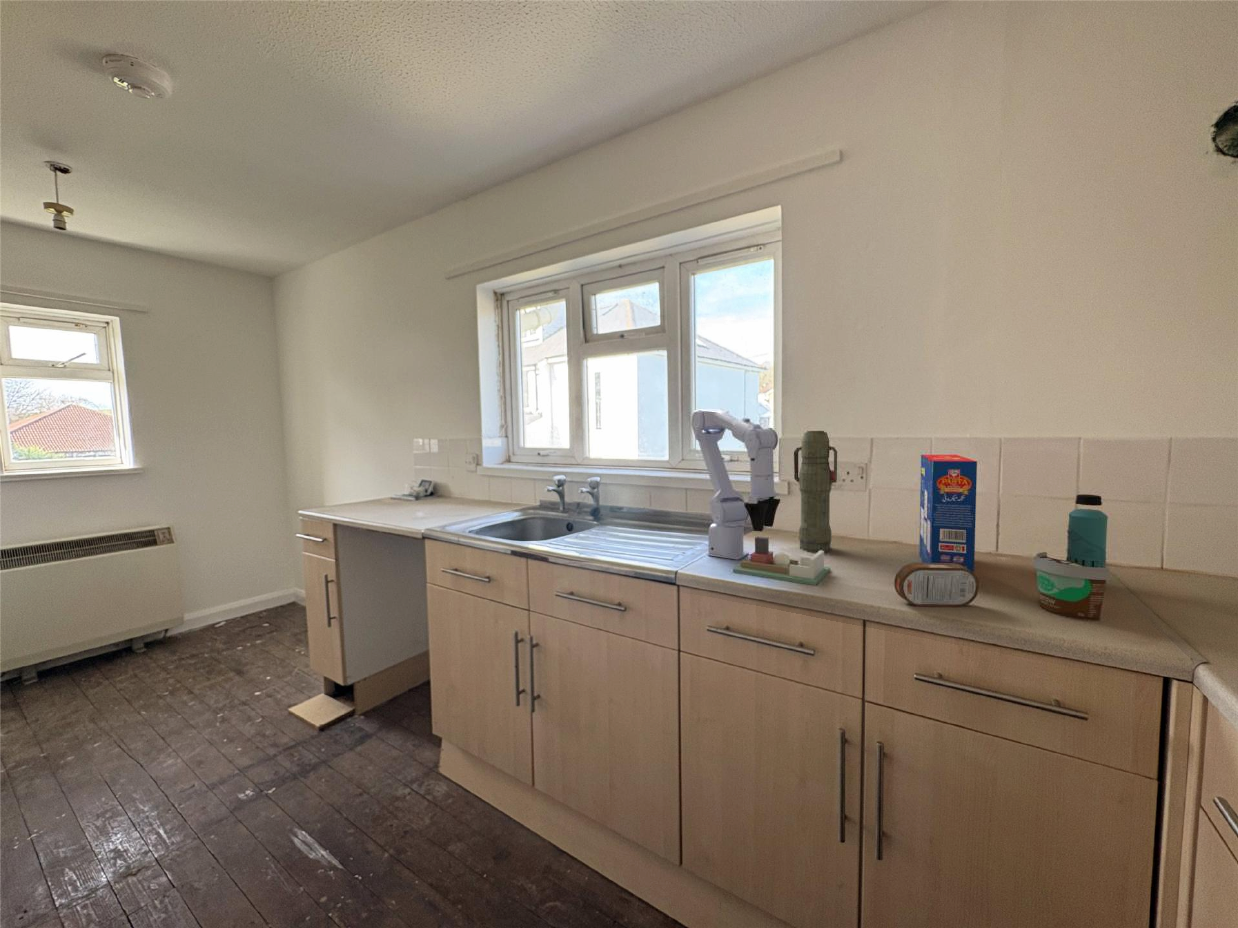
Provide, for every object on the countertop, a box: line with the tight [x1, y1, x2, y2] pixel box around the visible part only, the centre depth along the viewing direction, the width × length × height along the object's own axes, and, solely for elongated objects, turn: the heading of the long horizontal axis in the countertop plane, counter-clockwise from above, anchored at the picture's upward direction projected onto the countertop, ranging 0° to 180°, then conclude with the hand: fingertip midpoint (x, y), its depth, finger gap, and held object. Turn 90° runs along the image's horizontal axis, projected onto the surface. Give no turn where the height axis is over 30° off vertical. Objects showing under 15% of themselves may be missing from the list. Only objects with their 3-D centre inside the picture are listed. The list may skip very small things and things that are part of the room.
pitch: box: [732, 558, 831, 586], centre depth 121 cm, size 20×14×2 cm
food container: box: [1031, 551, 1111, 622], centre depth 91 cm, size 12×6×10 cm, turn 5°
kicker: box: [749, 536, 774, 564], centre depth 124 cm, size 4×6×7 cm
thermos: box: [793, 430, 838, 553], centre depth 142 cm, size 9×12×35 cm
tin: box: [893, 562, 980, 608], centre depth 96 cm, size 15×3×8 cm, turn 84°
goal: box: [789, 550, 825, 579], centre depth 117 cm, size 6×10×4 cm, turn 144°
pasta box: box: [918, 454, 978, 574], centre depth 119 cm, size 28×8×28 cm, turn 153°
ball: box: [773, 551, 791, 567], centre depth 121 cm, size 4×4×4 cm
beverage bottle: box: [1065, 493, 1109, 568], centre depth 106 cm, size 6×7×20 cm
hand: (763, 528), depth 123 cm, fingers open, 7 cm apart
